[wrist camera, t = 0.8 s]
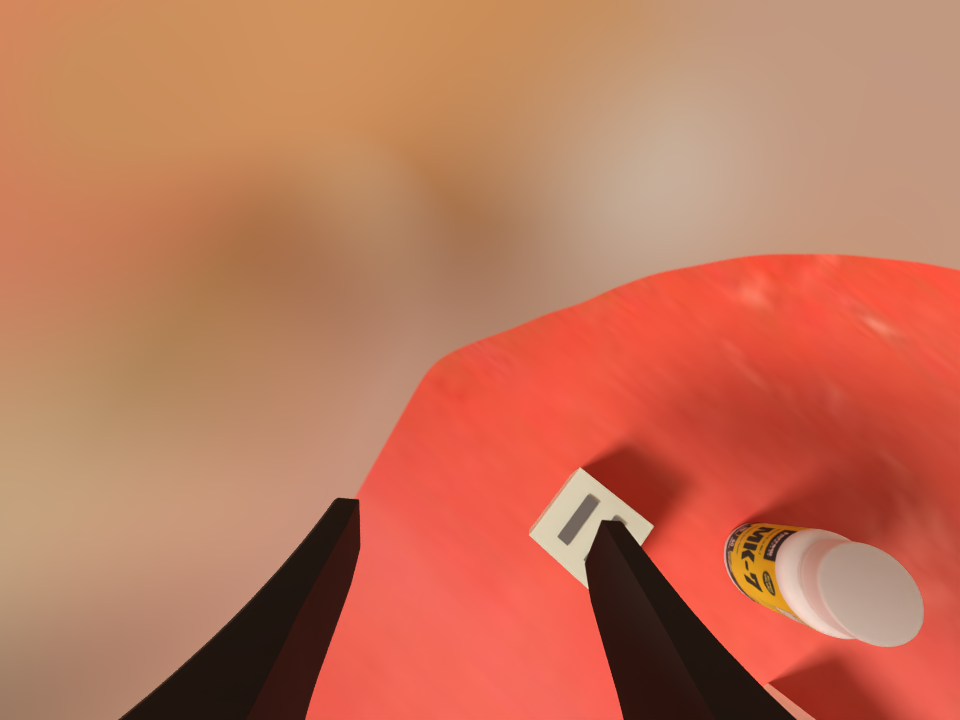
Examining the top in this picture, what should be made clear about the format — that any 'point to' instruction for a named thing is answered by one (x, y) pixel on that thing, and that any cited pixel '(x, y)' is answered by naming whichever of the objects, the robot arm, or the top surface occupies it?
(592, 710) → the top surface
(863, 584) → the supplement bottle
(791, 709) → the numbered block one
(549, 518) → the numbered block two
